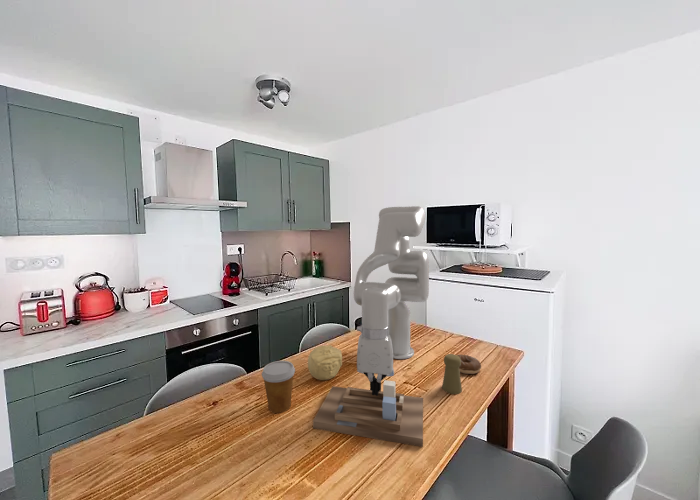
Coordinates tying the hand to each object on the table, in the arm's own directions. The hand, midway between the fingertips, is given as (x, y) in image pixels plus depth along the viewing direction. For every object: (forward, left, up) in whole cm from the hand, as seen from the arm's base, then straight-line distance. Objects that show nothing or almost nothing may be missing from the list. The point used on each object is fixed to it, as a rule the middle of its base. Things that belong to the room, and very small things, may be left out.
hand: (375, 392), depth 85 cm
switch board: (+4, -1, -4) cm, 6 cm away
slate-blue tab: (+8, +5, -2) cm, 10 cm away
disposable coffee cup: (+6, -28, -5) cm, 29 cm away
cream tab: (0, +4, -2) cm, 5 cm away
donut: (-30, +28, -5) cm, 42 cm away
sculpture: (-14, -21, -5) cm, 25 cm away
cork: (-15, +22, -5) cm, 27 cm away
